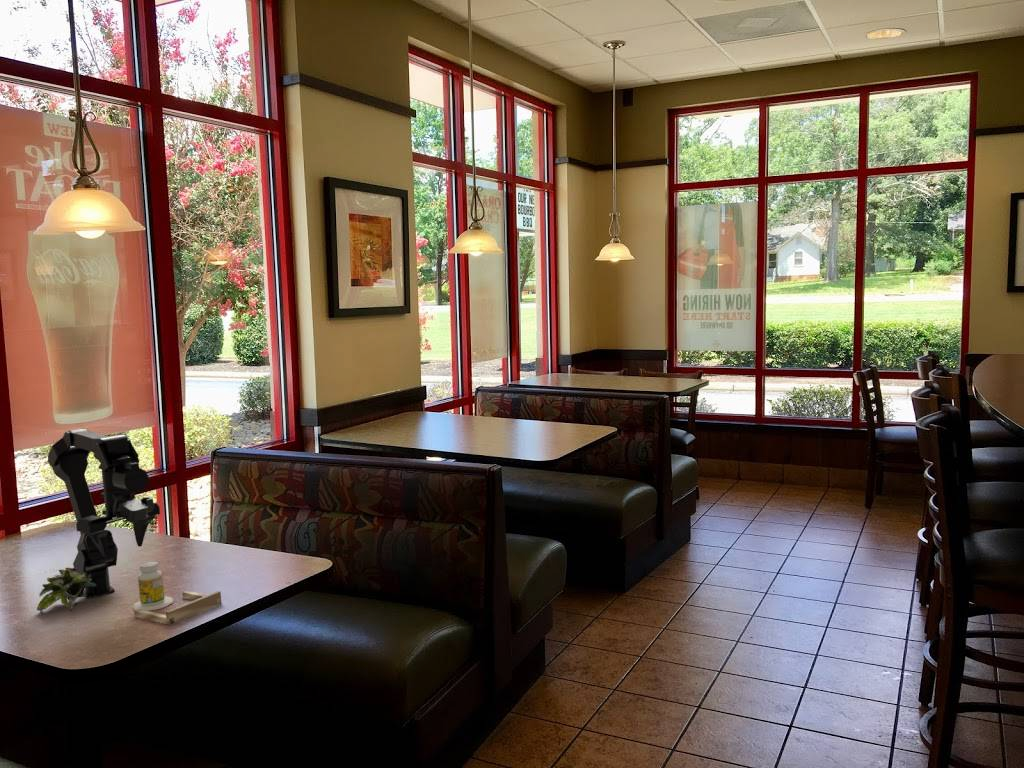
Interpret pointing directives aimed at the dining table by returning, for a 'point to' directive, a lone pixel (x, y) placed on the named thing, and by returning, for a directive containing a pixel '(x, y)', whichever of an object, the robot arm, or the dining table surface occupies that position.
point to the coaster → (149, 608)
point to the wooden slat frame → (183, 608)
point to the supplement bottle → (150, 584)
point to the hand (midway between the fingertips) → (122, 551)
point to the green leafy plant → (64, 588)
